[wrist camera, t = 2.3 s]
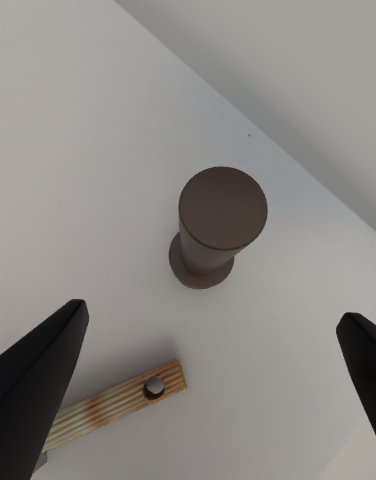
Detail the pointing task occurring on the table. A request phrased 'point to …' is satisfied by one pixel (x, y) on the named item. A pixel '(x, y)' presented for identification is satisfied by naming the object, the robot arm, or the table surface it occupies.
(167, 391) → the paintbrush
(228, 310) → the table surface
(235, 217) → the pestle
